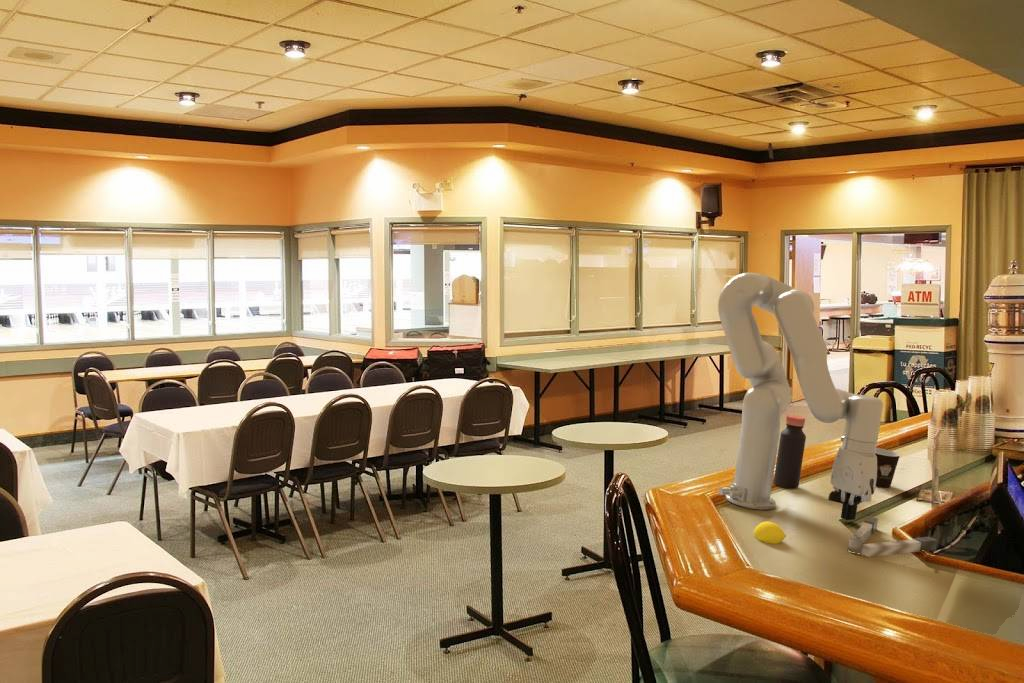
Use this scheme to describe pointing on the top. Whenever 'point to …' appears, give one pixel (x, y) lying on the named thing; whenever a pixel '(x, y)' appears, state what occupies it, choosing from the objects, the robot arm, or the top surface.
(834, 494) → the hand tool
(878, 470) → the coffee mug
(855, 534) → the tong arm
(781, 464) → the bottle
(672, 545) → the top surface
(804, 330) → the robot arm
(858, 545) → the tongs board
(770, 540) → the lemon
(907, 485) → the top surface
